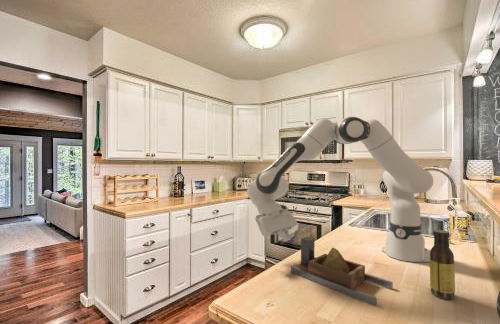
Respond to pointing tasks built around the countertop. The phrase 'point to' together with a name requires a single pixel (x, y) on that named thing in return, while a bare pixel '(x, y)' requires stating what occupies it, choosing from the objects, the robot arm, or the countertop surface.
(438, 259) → the sauce bottle
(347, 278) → the sled
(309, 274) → the rails
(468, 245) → the countertop surface
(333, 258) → the rock
